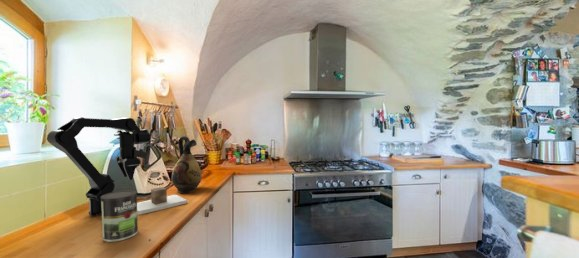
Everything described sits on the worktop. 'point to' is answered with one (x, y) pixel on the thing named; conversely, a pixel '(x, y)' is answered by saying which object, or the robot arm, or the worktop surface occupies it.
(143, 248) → the worktop surface
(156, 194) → the walnut block
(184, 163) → the ceramic jug
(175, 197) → the chopping board
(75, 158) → the robot arm
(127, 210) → the coffee can
